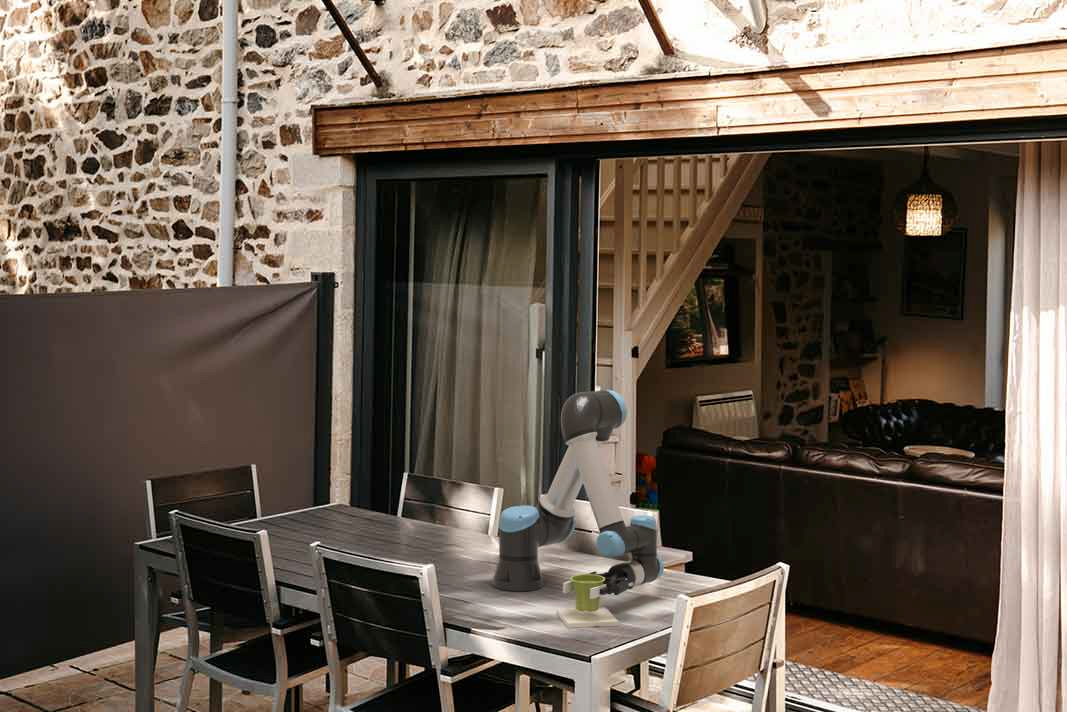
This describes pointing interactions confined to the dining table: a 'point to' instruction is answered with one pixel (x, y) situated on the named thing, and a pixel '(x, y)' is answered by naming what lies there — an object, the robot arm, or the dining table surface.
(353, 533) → the dining table surface
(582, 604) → the plant pot
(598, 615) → the tile
